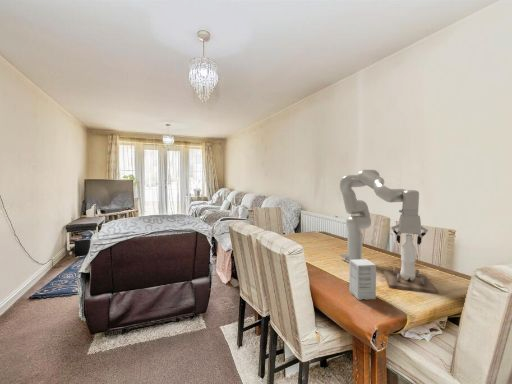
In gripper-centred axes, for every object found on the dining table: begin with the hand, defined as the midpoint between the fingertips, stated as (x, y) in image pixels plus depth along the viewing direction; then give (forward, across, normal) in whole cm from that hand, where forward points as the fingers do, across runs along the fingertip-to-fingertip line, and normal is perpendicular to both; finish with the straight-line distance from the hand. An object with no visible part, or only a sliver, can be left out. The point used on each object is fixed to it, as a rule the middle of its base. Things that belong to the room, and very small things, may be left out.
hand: (408, 243), depth 139 cm
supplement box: (+22, -24, -26) cm, 42 cm away
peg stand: (+22, 0, 0) cm, 22 cm away
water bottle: (+20, 0, 0) cm, 21 cm away
